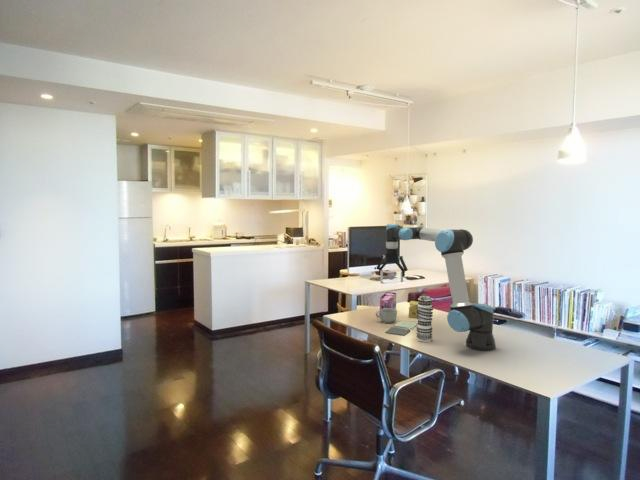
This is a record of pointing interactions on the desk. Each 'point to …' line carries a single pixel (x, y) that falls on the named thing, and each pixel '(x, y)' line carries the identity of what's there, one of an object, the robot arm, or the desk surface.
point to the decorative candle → (424, 319)
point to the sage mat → (405, 324)
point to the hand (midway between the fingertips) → (391, 281)
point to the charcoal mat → (397, 331)
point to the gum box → (388, 301)
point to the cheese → (413, 309)
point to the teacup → (387, 315)
